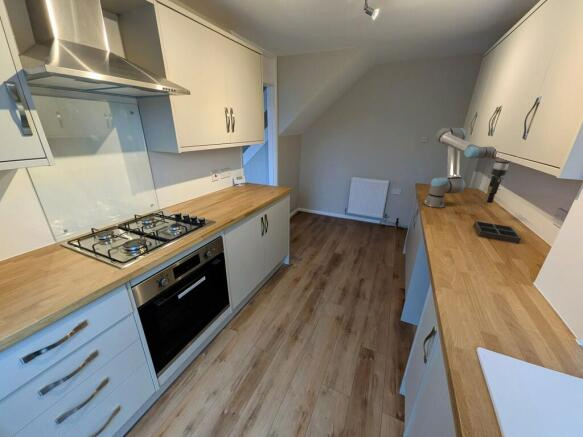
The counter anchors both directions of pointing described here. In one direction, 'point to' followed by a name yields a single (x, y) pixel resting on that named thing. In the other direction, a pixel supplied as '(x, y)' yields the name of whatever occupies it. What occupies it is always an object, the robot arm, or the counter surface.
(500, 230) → the grid
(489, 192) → the cork
